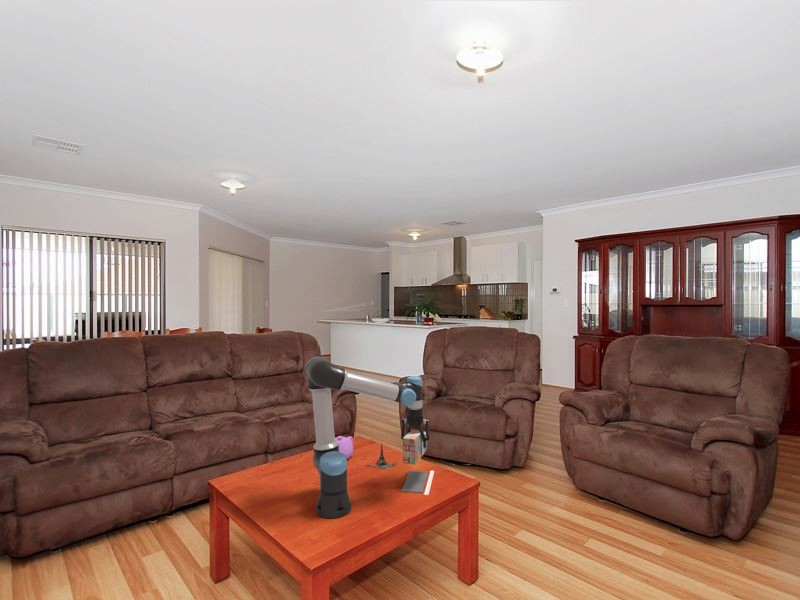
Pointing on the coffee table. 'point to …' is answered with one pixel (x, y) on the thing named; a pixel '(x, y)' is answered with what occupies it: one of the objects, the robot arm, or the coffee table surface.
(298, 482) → the coffee table surface
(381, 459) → the eiffel tower figurine
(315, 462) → the robot arm
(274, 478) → the coffee table surface
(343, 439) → the teapot
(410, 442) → the stack of blocks
